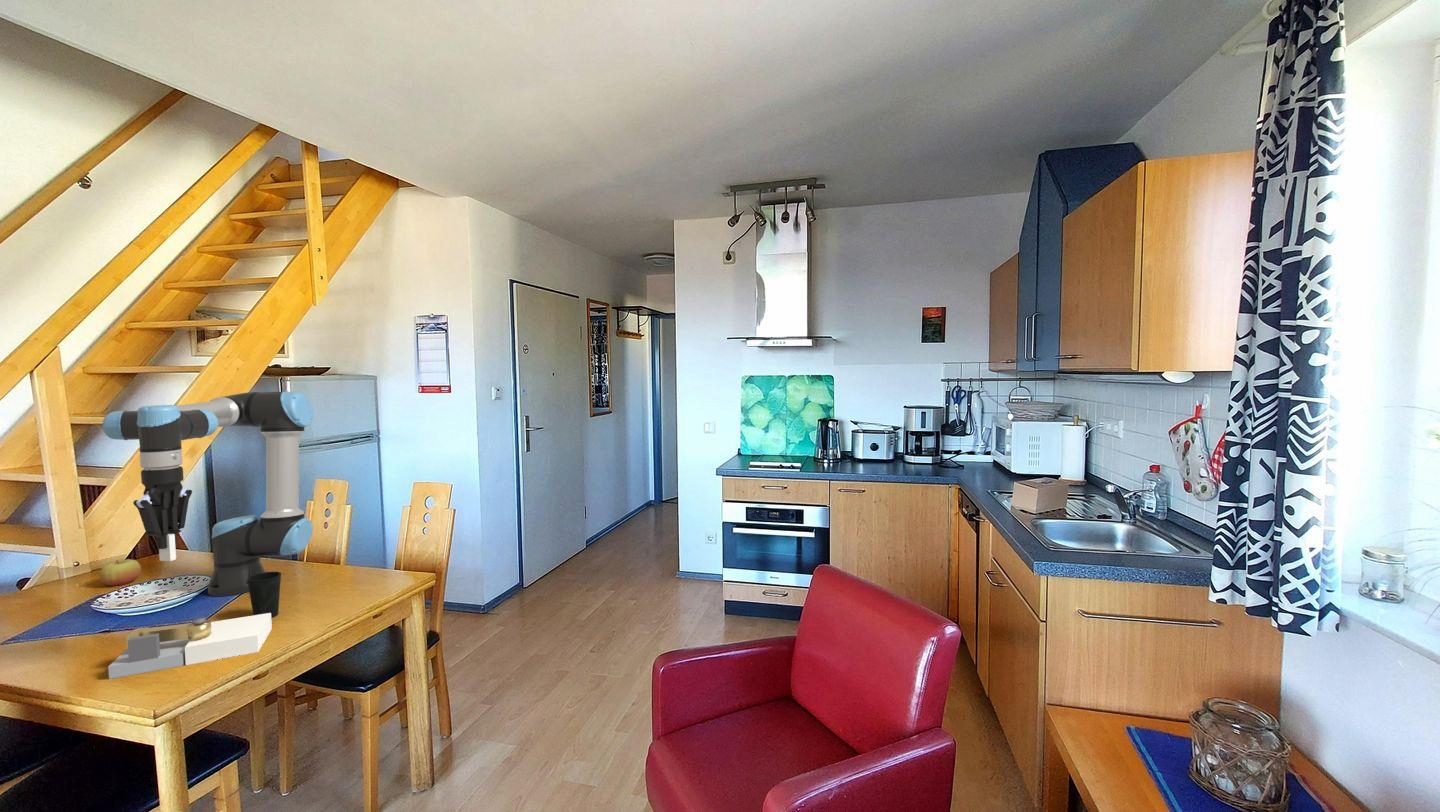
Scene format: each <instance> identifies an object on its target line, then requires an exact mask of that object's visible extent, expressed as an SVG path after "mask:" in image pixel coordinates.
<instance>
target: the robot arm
mask: <svg viewBox="0 0 1440 812" xmlns="http://www.w3.org/2000/svg"><path fill="white" fill-rule="evenodd" d="M313 417H314V412H313V406H312V404H311V402H310V400H309V399H308V397H307V396H306V395H305V394H303V393H301V392H299V391H298V392H297V391H289V390H288V391H287V390H286V391H248V392H243V393H242V392H241V393H237V394H231V395H224V396H219V397H218V396H217V397H214V398H212V399H210V400H209V401H205V402H204V401H203V402H195V403H188V404H181V405H179V404H178V405H175V404H162V405H160V404H159V405H144V406H140V407H139V408H138V409H137V410H122V411H120V410H119V411H117V410H116V411H112V412H110V413H108V414H106V416H105V417H104V418H103V421H102V431H103V434H105V436H106V437H108V438H109V439H112V440H123V441H129V440H131V441H133V440H134V441H135V440H138V442H139V463H140V464H139V466H140V468H142V470H141V471H140V478H141V479H140V480H141V484H142V485H143V486H144V490H143V496H142V497H140V499H135V500H133V502H132V503H133V505H134V506H135V507H136V508H137V510H138V513H139V516H140V519H141V522H142V525H143V527H144V532H145V533H146V534H145V535H146V536H148V537H149V536H151V537H156V538H155V541H156V548H157V550H158V553H159V556H158V557H159V562H172V561H175V560H177V552H176V551H177V550H176V546H177V543H178V539H177V538H178V537H177V536H178V535H177V534H180V533H181V532H182V530H183V529H184V528H185V525H186V520H187V519H186V518H187V512H188V509H189V508H188V507H189V501H190V498H191V496H192V494H193V490H191V489H186V488H184V487H183V484H182V483H181V482H183V481H184V478H185V477H184V467H182V466H181V465H182V464H183V451H182V441H185V440H193V439H202V438H206V437H209V436H211V435H212V434H214V433H215V432H216V431H217V429H218V427H220V428H228V427H246V428H248V427H249V428H260V434H262V435H263V436H264V437H265V438H266V439H265V441H266V445H265V446H266V449H265V450H266V451H265V453H266V456H265V460H266V461H265V462H266V464H265V465H266V471H265V472H266V475H265V478H266V479H265V481H266V483H265V489H266V492H265V496H266V497H265V503H266V504H265V511H264V512H263V513H262V514H261V515H260V517H259V515H257V514H249V515H242V516H237V517H232V518H228V519H225V520H221V521H218V522H217V523H215V524H214V525H213V526H212V529H211V530H212V531H211V532H212V534H211V540H212V555H213V556H212V557H213V571H212V574H211V577H210V580H209V582H208V586H207V594H208V595H210V596H212V597H227V596H235V595H241V594H246V593H249V587H248V581H247V579H248V578H249V577H251V576H253V575H256V574H260V573H265V572H267V571H266V569H265V567H264V566H263V563H262V562H261V557H266V556H267V557H268V556H271V557H272V556H283V557H285V556H289V555H297V554H300V553H302V552H304V550H305V549H306V548H307V546H308V545H309V543H310V541H311V538H312V535H313V529H314V528H313V527H314V526H313V523H312V521H311V519H309V518H307V517H306V518H305V511H304V510H302V509H301V508H300V506H299V505H300V504H299V501H300V499H299V497H300V495H299V494H300V491H299V487H300V479H299V477H300V475H299V474H300V472H299V471H300V464H299V463H300V459H299V458H300V454H299V453H300V449H299V448H300V447H299V446H300V436H302V435H303V434H304V433H305V427H308V426H309V425H310V424H311V423H312V420H313ZM181 529H182V530H181Z"/></svg>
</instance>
